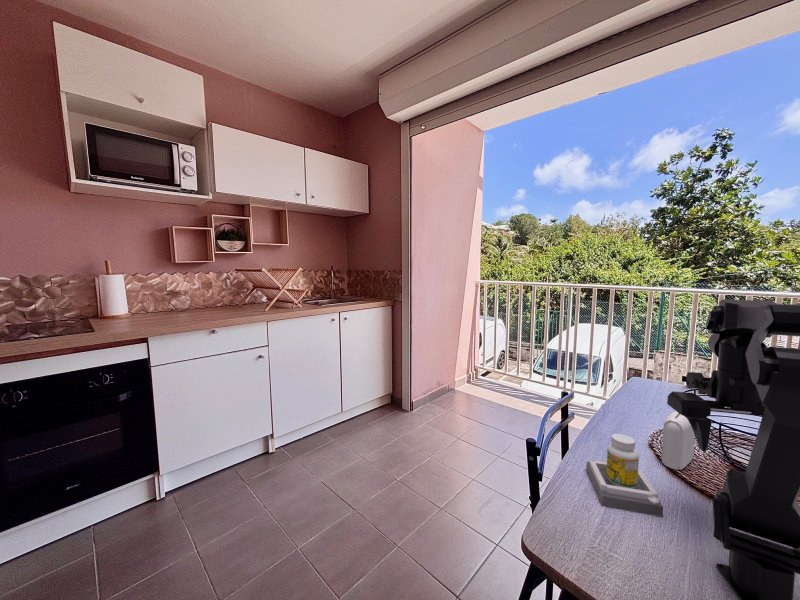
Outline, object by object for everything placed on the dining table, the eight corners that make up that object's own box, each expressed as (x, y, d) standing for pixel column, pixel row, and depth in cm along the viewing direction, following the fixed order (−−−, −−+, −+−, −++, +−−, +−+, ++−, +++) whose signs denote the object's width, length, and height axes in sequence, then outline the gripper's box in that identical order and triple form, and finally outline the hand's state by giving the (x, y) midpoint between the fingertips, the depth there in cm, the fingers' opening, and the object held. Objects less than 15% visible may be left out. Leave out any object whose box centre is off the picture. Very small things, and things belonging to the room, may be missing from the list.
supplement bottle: (643, 490, 64) (646, 445, 63) (617, 491, 64) (619, 445, 63) (624, 473, 69) (626, 431, 68) (600, 474, 69) (602, 432, 68)
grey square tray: (662, 516, 59) (663, 500, 59) (602, 505, 62) (602, 490, 62) (636, 477, 71) (637, 463, 71) (586, 469, 74) (586, 456, 74)
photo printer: (673, 450, 81) (676, 404, 80) (695, 458, 78) (698, 410, 77) (658, 464, 76) (661, 414, 75) (681, 473, 72) (684, 421, 71)
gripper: (772, 361, 60) (765, 439, 62) (656, 355, 66) (652, 426, 67) (829, 380, 50) (820, 474, 51) (685, 371, 56) (680, 455, 57)
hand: (734, 454), depth 57 cm, fingers open, 9 cm apart
